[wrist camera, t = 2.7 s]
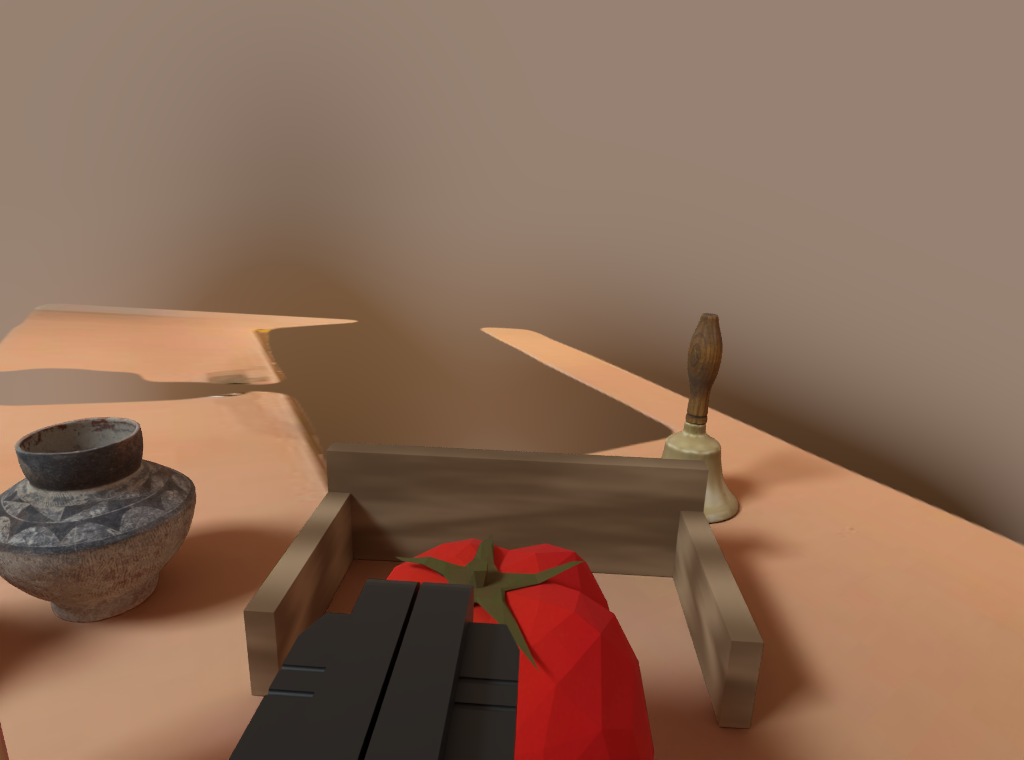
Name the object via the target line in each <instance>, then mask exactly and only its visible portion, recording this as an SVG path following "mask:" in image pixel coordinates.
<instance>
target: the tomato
mask: <svg viewBox="0 0 1024 760" xmlns="http://www.w3.org/2000/svg"><path fill="white" fill-rule="evenodd" d="M396 558H398V559H400V560H402V561H405V562H404V563H402V564H400V565H398V566H396V567H395V568H394V569H393V570H392V572H391V573H390V575H389V576H388V578H387V579H386V580H399V581H414V582H420V584H422V583H423V582H432V583H448V584H463V585H473V587H474V614H473V622H477V623H492V624H507V626H508V628H509V630H510V632H511V634H512V636H513V638H514V640H515V642H516V644H517V646H518V648H519V650H520V660H519V681H518V701H517V721H516V741H515V757H514V760H653V758H654V748H653V743H652V737H651V731H650V725H649V719H648V714H647V708H646V702H645V696H644V690H643V685H642V679H641V673H640V667H639V661H638V660H637V658H636V656H635V654H634V652H633V650H632V648H631V646H630V644H629V642H628V640H627V638H626V636H625V634H624V632H623V630H622V628H621V626H620V624H619V622H618V620H617V618H616V616H615V614H613V613H612V612H610V611H609V607H608V604H607V601H606V599H605V597H604V595H603V593H602V591H601V589H600V587H599V585H598V583H597V582H596V580H595V578H594V576H593V574H592V572H591V570H590V568H589V566H588V564H587V562H586V561H584V560H583V559H582V558H581V557H580V556H579V555H578V554H577V553H576V552H575V551H571V550H567V549H564V548H560V547H557V546H553V545H550V544H540V545H535V546H529V547H524V548H518V549H513V550H508V549H505V548H502V547H499V546H496V545H494V542H493V537H492V534H491V535H490V536H489V538H487V539H486V540H484V541H481V540H478V539H475V538H473V539H467V540H461V541H455V542H450V543H444V544H441V545H439V546H437V547H435V548H433V549H431V550H428V551H426V552H424V553H422V554H420V555H418V556H416V557H414V558H403V557H396Z"/></svg>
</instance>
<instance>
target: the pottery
mask: <svg viewBox="0 0 1024 760" xmlns="http://www.w3.org/2000/svg"><path fill="white" fill-rule="evenodd" d="M15 450H16V454H17V457H18V461H19V464H20V467H21V469H22V471H23V473H24V475H25V476H26V478H25V479H23V480H22V481H20V482H18V483H17V484H15V485H14V486H12V487H11V488H9V489H8V490H7V491H5V492H4V493H2V494H1V495H0V576H1V577H2V578H4V579H5V580H6V581H7V582H9V583H10V584H12V585H13V586H15V587H17V588H18V589H20V590H22V591H24V592H26V593H28V594H29V595H32V596H34V597H37V598H39V599H42V600H46V601H50V602H51V607H52V610H53V612H54V613H55V615H56V616H58V617H59V618H61V619H63V620H66V621H71V622H79V623H84V622H94V621H98V620H103V619H107V618H110V617H113V616H116V615H119V614H122V613H124V612H126V611H128V610H130V609H132V608H134V607H136V606H137V605H139V604H140V603H142V602H143V601H145V600H146V599H147V598H148V597H149V596H150V595H151V594H152V593H153V591H154V590H155V588H156V586H157V584H158V578H159V573H158V572H159V571H160V570H161V569H162V568H163V567H164V566H165V565H166V564H167V563H168V562H169V561H170V560H171V559H172V557H173V556H174V555H175V554H176V552H177V551H178V549H179V548H180V546H181V545H182V543H183V541H184V540H185V538H186V536H187V534H188V531H189V529H190V526H191V522H192V518H193V515H194V509H195V504H196V492H195V486H194V484H193V482H192V481H191V480H190V479H189V478H188V477H187V476H185V475H184V474H182V473H180V472H178V471H176V470H174V469H171V468H169V467H166V466H163V465H160V464H157V463H154V462H151V461H147V460H143V459H142V455H143V437H142V431H141V428H140V424H139V423H137V422H135V421H133V420H130V419H125V418H113V417H97V418H85V419H79V420H74V421H68V422H64V423H60V424H56V425H52V426H48V427H45V428H42V429H39V430H36V431H34V432H32V433H30V434H28V435H26V436H24V437H22V438H21V439H20V440H19V441H18V442H17V443H16V444H15Z"/></svg>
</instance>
